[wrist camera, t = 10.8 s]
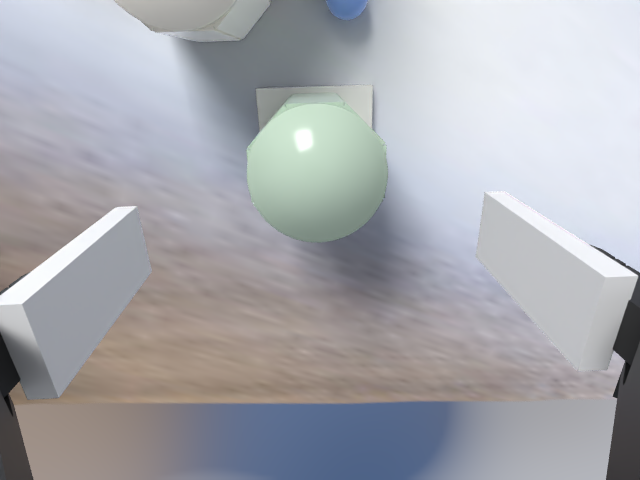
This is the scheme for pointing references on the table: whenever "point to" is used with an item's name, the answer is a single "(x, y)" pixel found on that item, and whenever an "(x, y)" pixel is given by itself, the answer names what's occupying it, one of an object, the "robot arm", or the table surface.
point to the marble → (346, 8)
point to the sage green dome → (317, 169)
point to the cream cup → (198, 17)
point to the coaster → (351, 94)
